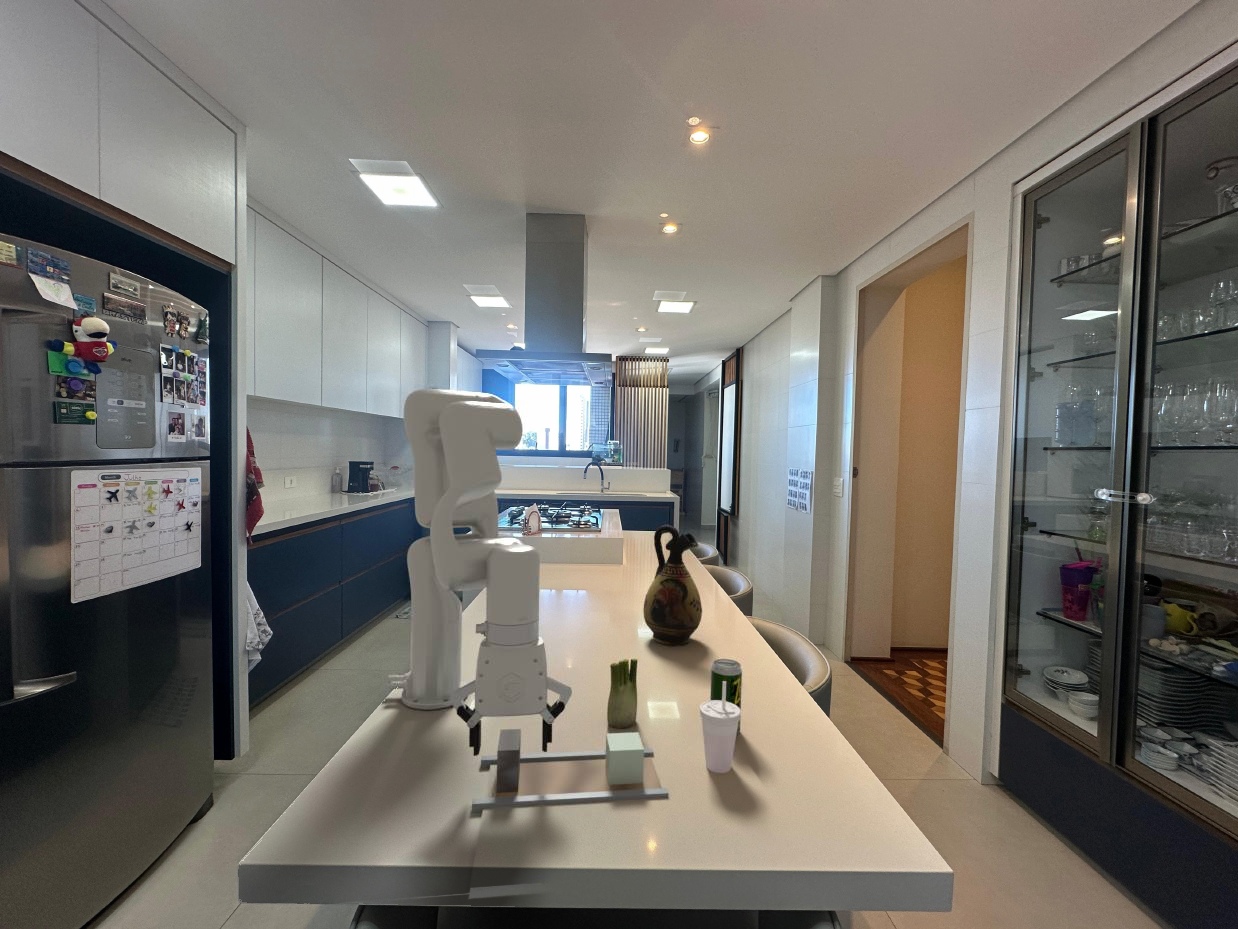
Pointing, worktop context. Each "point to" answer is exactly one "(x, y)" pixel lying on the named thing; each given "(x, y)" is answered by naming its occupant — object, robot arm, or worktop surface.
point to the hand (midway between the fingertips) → (511, 749)
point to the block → (624, 758)
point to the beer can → (727, 682)
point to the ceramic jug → (672, 592)
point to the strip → (555, 773)
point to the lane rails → (568, 797)
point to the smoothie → (719, 732)
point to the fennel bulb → (623, 694)
